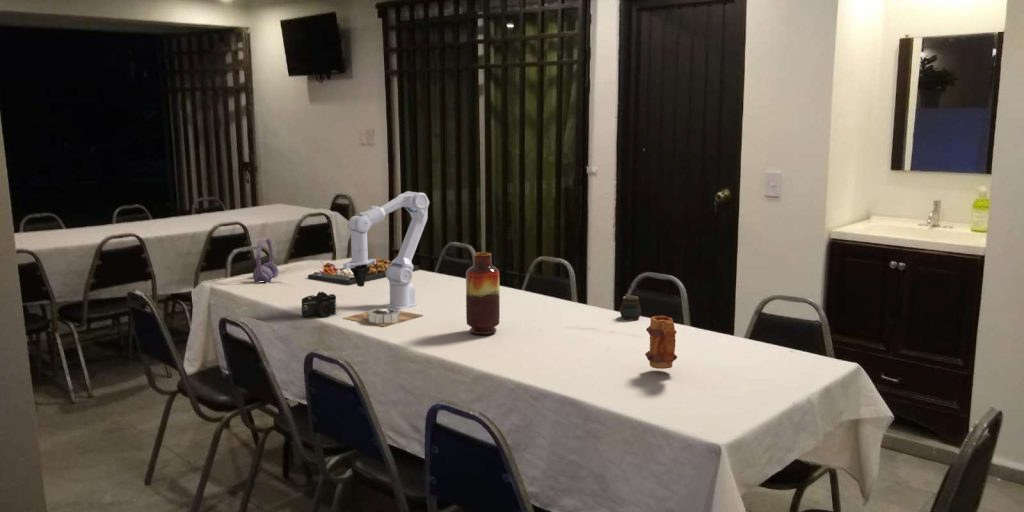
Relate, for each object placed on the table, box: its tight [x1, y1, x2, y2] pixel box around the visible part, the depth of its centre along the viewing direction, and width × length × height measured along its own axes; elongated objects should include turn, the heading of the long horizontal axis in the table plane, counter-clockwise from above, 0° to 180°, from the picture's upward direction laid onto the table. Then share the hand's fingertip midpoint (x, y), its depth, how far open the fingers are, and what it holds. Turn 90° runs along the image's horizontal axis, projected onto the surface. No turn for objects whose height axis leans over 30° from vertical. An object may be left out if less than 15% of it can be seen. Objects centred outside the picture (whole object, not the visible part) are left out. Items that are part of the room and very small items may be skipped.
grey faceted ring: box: [366, 307, 401, 324], centre depth 287 cm, size 11×11×3 cm
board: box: [342, 310, 424, 328], centre depth 293 cm, size 20×20×1 cm
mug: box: [645, 315, 678, 370], centre depth 229 cm, size 15×8×15 cm, turn 5°
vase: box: [465, 251, 501, 335], centre depth 272 cm, size 11×11×26 cm
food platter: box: [307, 257, 420, 286], centre depth 367 cm, size 45×25×10 cm, turn 146°
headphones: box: [252, 237, 279, 283], centre depth 357 cm, size 18×8×20 cm, turn 179°
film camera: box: [301, 291, 338, 318], centre depth 293 cm, size 13×8×10 cm, turn 130°
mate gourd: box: [619, 293, 642, 320], centre depth 289 cm, size 7×8×10 cm
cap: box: [376, 308, 390, 314], centre depth 287 cm, size 5×5×4 cm
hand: (360, 286), depth 299 cm, fingers closed
